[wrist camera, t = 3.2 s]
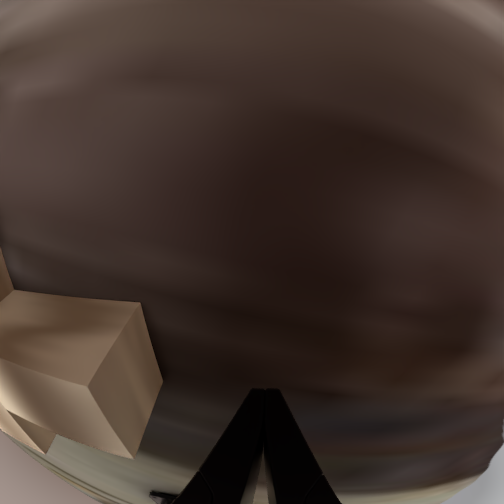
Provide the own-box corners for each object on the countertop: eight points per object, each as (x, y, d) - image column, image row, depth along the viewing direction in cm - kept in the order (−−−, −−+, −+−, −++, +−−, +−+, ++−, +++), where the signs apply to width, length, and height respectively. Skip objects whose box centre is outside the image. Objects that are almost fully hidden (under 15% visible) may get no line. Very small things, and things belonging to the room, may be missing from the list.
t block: (118, 186, 8) (27, 234, 4) (181, 430, 13) (163, 495, 9) (-45, 213, 9) (-99, 243, 5) (29, 389, 14) (2, 430, 10)
